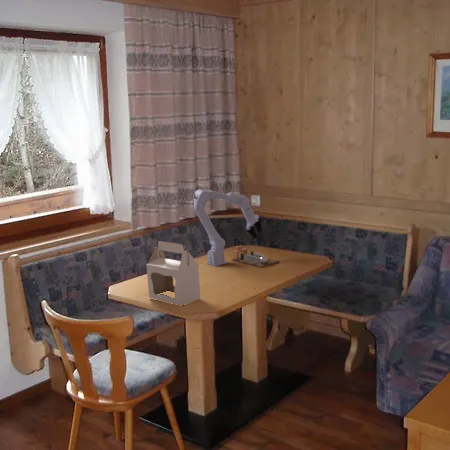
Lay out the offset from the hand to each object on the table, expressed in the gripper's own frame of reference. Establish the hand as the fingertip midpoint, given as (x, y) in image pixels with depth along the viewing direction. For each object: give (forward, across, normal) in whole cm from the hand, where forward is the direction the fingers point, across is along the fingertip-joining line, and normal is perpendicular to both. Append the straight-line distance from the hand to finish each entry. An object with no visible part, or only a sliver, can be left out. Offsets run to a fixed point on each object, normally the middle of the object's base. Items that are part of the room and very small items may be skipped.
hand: (258, 234), depth 379 cm
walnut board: (+10, -14, +1) cm, 17 cm away
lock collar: (+7, -11, +10) cm, 17 cm away
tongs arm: (+10, -12, -1) cm, 15 cm away
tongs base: (+9, -16, -1) cm, 18 cm away
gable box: (-13, -84, +4) cm, 85 cm away
